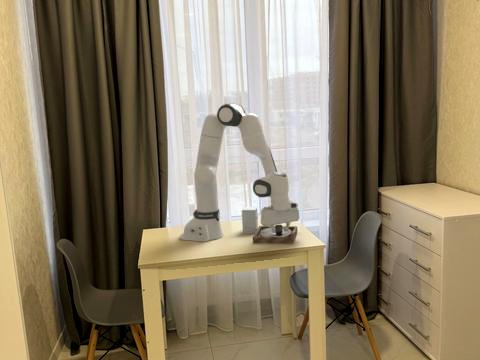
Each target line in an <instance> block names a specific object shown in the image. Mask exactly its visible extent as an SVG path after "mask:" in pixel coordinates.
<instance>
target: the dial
mask: <svg viewBox="0 0 480 360" xmlns="http://www.w3.org/2000/svg"><path fill="white" fill-rule="evenodd" d="M274 226H275V227H274V229H276V233H274V234H273V233H272V229H271V228H267V229H263V230H261V231H260V237H291V235H292V232H291V230H290V229H288V231H284V228H282V226H283V225H282V224H277V225H274Z"/></svg>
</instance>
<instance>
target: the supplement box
mask: <svg viewBox="0 0 480 360" xmlns="http://www.w3.org/2000/svg"><path fill="white" fill-rule="evenodd" d="M258 218H259V217H258V207H257V206H245V207H243V208H242V210H241V220H242V221H241V224H242V234H255V233H256V231H257V229H258V228H259V224H258V223H259V222H258Z"/></svg>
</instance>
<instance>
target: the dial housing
mask: <svg viewBox="0 0 480 360" xmlns="http://www.w3.org/2000/svg"><path fill="white" fill-rule="evenodd" d="M285 226H286V225H282V228H284V227H285ZM274 227H275V225H274ZM267 228H271V227H270V226H263V225H258V229H257V231H256V233H253V236H252V244H279V245H280V244H281V245H294V243H295V241H296V238H297V235H298V226H295V225H293V226H292V225H290V226H289V227H288V229H290V230H291V232H292V235H291V237H260V231H261V230H263V229H267Z"/></svg>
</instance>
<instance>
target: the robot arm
mask: <svg viewBox="0 0 480 360" xmlns="http://www.w3.org/2000/svg"><path fill="white" fill-rule="evenodd" d="M227 127H235V128H236V127H237V128H238V129H239V133H240V135H241V141H242V144H243V147H244V149H245V151H246V152H248V153H249V154H250V155H253V156H255V157H258V159H259V160H260V162H261V165H262V168H263V172H264V174H265V175H264V176H263V177H260V178H258V179H256V180H255V181H254V182H253V183H252V191H253V194H254V195H255V196H256V197H258V198H268V197H269V198H270V206H264V207H262V208H261V210H260V215H261V216H260V224H261V226H270V227H271V229H272V233H273V234H274V233H276V229H274V226H275V225H282V224H285V225H284V226H285V227H284V231H288V227H289V226H291V223H293V222H294V223H295V222H298V221H299V219H300V211H299V204H298V203H297V202H295V201H293V200H289V199H290V197H289V191H290V190H289V189H290V188H289V187H290V186H289V179H288V175H287V174H286V173H285V172H282V171H278V169H277V167H276V164H275V160H274V157H273V154H272V152H271V149H270V147H269V145H268V144H267V141H266V138H265V133H264V129H263V126H262V123H261V120H260V119H259V116H258V114H255V113H246V111H245V109H244V107H243V106H242V105H240V104H237V103H232V102H231V103H224V104H222V105H221V106H219V108H218V109H217V112H216V113H210V114H207V116H205V118H204V122H203V124H202V128H201V132H200V133H201V134H200V139H199V143H198V149H197V156H196V157H197V158H196V163H195V169H194V172H193V179H194V189H195V190H194V191H195V197H196V199H195V200H196V209H195V210H194V211H193V214H192V216H193V218H192V219H190V220H189V221H188V222H187V223H186V224H185V225H184V227H183V228H184V229H183V232H182V233H181V234H180V235H179V239H180V240H182V241H196V242H202V243H203V242H204V243H205V242H208V241H213V240H217V239H220V238H222V237H223V236H224V233H223V229H222V227H221V221H220V220H221V214H220V213H221V212H220V209H219V197H218V183H217V181H218V180H217V171H218V165H219V159H220V155H221V150H222V143H223V138H224V132H225V129H226V128H227Z"/></svg>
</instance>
